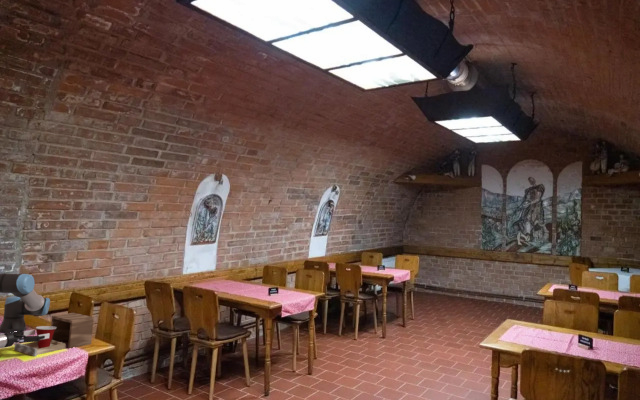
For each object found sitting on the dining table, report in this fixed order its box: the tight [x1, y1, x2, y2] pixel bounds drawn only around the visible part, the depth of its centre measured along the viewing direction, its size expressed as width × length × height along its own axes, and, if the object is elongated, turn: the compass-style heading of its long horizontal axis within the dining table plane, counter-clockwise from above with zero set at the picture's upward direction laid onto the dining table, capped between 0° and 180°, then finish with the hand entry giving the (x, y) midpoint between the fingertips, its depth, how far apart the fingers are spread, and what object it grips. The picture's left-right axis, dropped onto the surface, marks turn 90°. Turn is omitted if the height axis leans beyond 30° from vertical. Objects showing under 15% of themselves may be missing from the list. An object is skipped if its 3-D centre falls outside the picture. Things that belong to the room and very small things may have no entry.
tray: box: [13, 340, 67, 357], centre depth 268 cm, size 20×20×4 cm
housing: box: [50, 312, 94, 349], centre depth 285 cm, size 20×14×17 cm
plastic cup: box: [35, 325, 56, 348], centre depth 270 cm, size 11×11×12 cm
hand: (41, 333), depth 268 cm, fingers open, 13 cm apart
